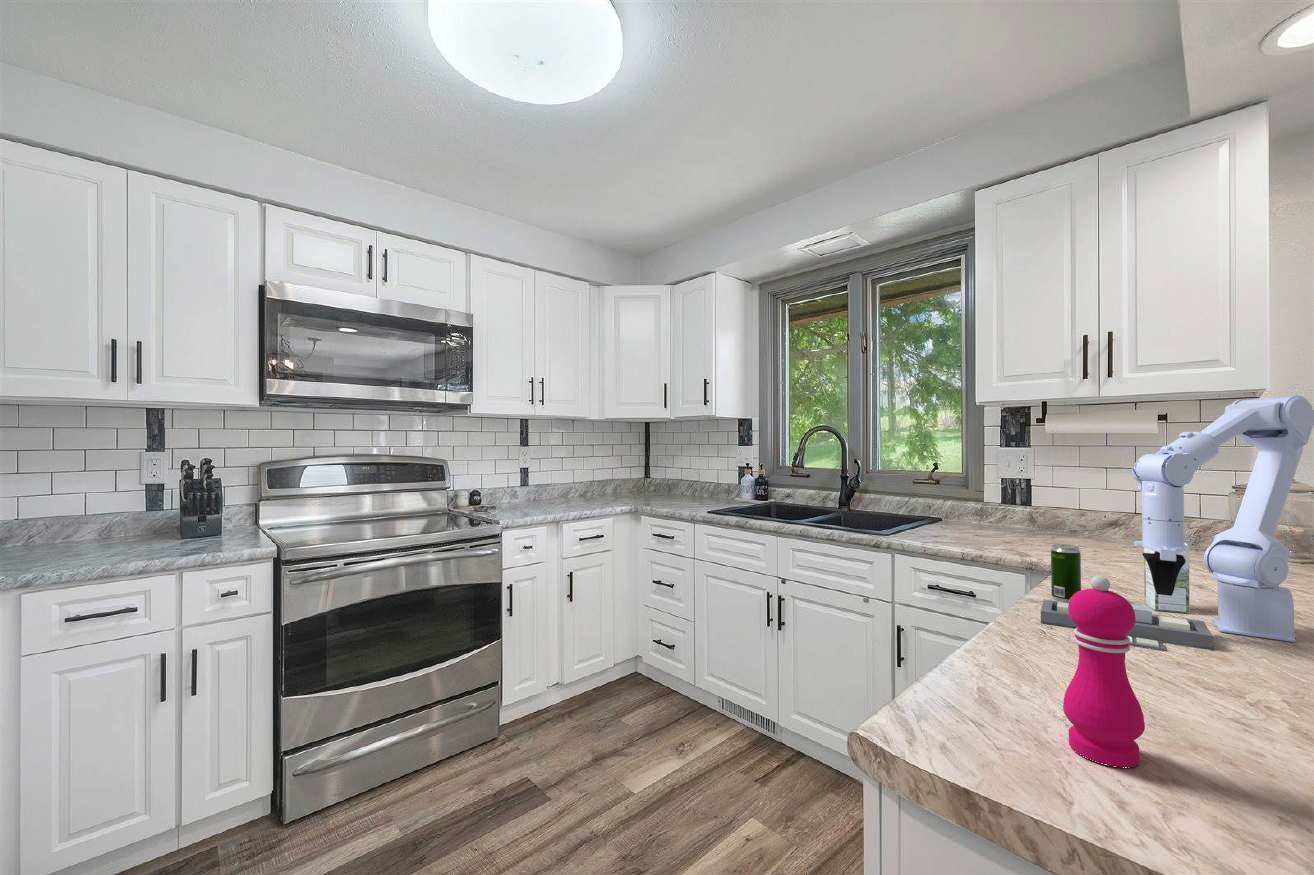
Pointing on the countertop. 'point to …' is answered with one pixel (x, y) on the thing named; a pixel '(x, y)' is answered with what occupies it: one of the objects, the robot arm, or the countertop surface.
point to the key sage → (1062, 607)
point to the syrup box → (1180, 593)
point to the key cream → (1173, 622)
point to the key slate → (1142, 613)
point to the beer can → (1065, 571)
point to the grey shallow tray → (1141, 628)
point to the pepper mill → (1103, 679)
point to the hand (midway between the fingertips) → (1163, 594)
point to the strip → (1146, 643)
